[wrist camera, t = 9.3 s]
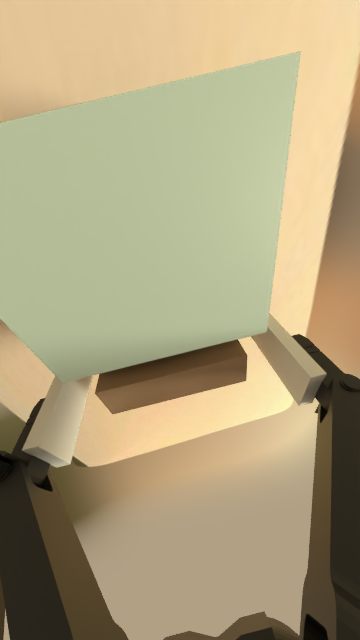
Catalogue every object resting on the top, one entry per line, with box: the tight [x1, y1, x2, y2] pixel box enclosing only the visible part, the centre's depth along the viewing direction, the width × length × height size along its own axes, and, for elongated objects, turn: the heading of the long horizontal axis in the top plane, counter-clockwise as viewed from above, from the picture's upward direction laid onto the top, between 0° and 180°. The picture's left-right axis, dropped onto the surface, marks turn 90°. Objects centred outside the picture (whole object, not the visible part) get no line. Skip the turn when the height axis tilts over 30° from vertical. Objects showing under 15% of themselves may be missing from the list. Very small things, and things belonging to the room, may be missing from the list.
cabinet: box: [0, 51, 301, 383], centre depth 13 cm, size 15×12×11 cm
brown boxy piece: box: [95, 339, 247, 414], centre depth 16 cm, size 4×9×11 cm, turn 101°
